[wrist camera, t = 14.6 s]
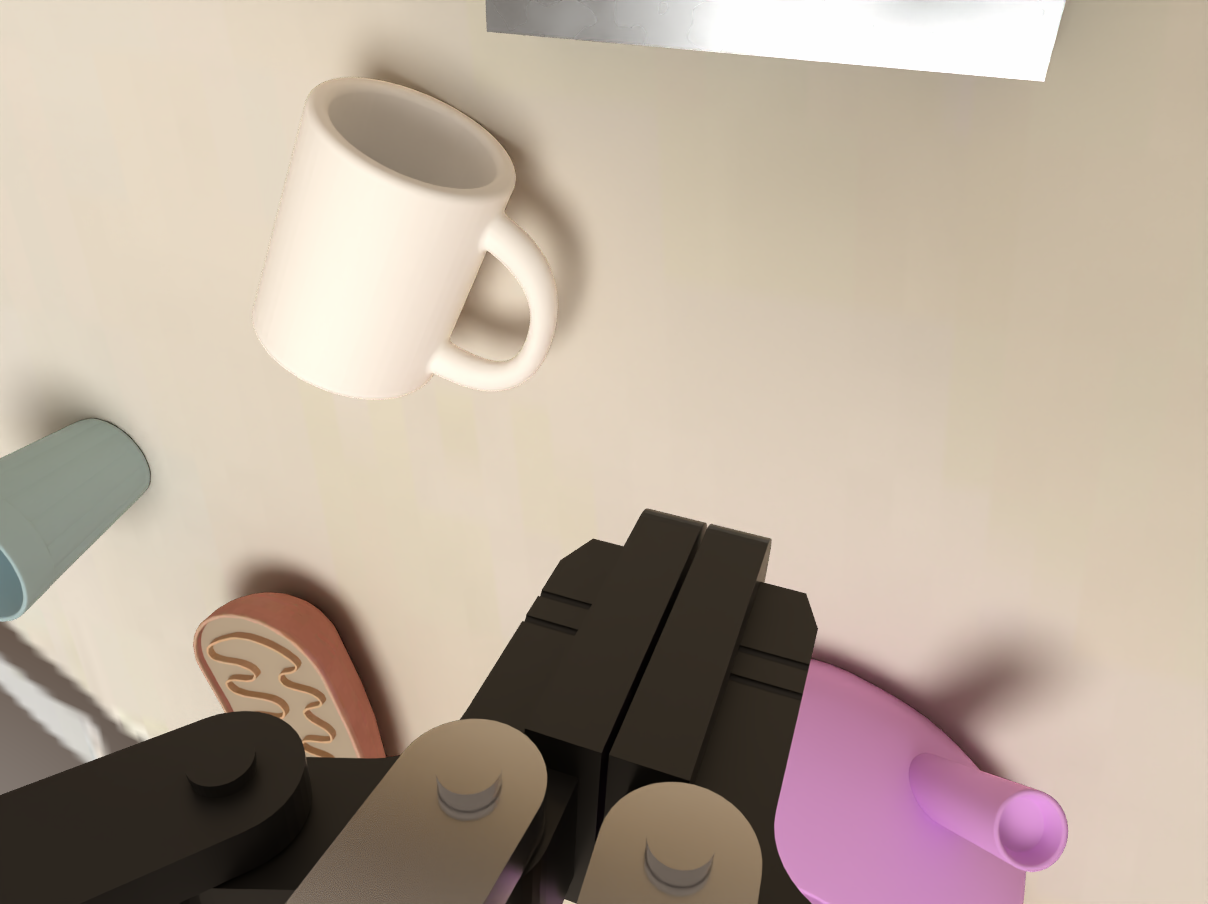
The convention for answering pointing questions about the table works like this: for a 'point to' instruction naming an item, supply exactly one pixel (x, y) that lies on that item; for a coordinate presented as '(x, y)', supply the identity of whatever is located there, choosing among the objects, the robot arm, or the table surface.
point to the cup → (61, 504)
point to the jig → (812, 30)
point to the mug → (392, 246)
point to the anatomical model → (288, 672)
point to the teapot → (901, 807)
